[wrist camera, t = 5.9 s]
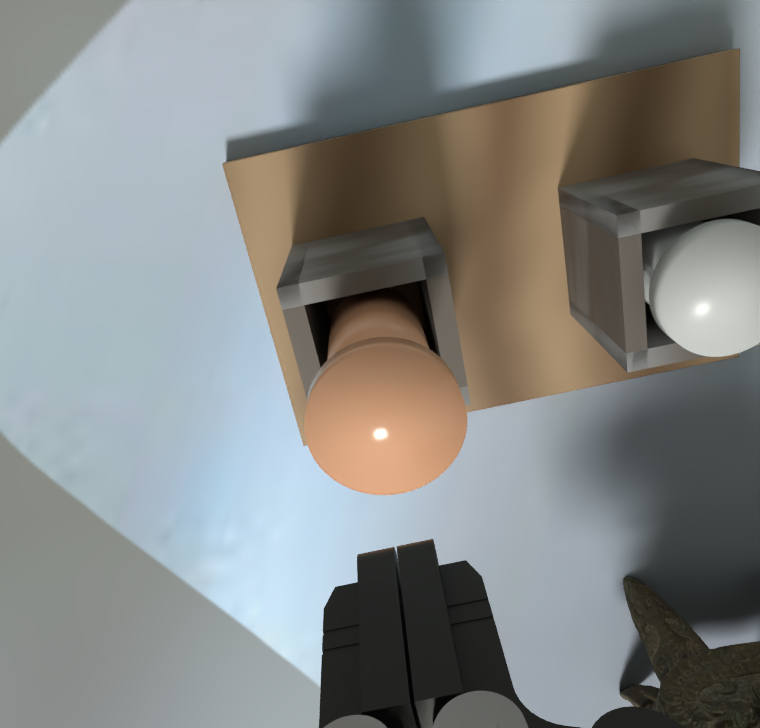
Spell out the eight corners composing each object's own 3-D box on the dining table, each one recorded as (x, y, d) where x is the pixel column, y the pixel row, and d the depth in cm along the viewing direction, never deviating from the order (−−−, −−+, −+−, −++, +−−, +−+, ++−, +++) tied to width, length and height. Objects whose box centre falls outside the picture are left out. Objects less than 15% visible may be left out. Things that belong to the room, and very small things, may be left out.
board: (726, 49, 28) (860, 36, 21) (728, 349, 34) (834, 421, 26) (226, 161, 29) (184, 186, 22) (304, 436, 35) (292, 530, 27)
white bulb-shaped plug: (684, 179, 29) (800, 210, 21) (687, 280, 31) (795, 341, 23) (579, 202, 29) (658, 241, 22) (588, 301, 31) (664, 368, 23)
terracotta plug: (422, 262, 25) (453, 334, 18) (442, 371, 27) (478, 477, 20) (304, 287, 25) (285, 368, 18) (332, 394, 27) (325, 508, 20)
